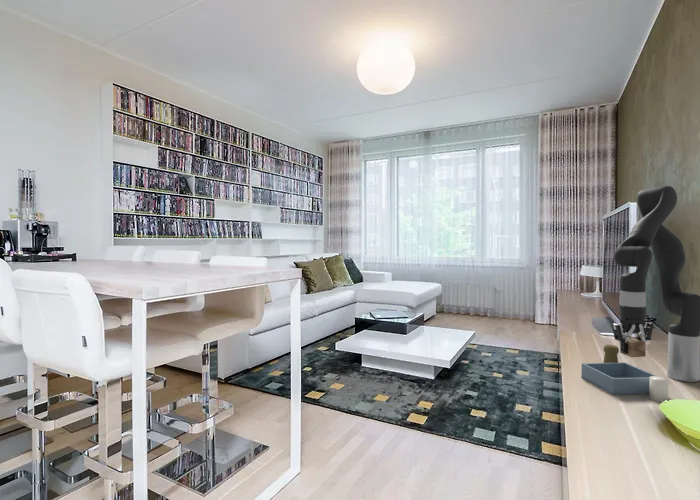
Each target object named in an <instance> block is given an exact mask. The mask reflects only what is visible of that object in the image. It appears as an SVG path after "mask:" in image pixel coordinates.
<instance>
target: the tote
mask: <svg viewBox="0 0 700 500" xmlns="http://www.w3.org/2000/svg"><path fill="white" fill-rule="evenodd" d="M650 376H657V375H656V374H653V373H651V372H648V371H646V370H643V369H642V368H639V367H637V366H634V365H632V364H630V363H627V362H618V363H603V362H591V363H590V362H589V363H588V362H587V363H586V362H585V363H581V378H582V379H583V380H585V381H587V382H589V383H590V384H592V385H593V386H596V387H598V388H599V389H601V390H603V391H605V392H606V393H608V394H610V395H612V396H625V395H626V396H628V395H631V396H632V395H649V380H650Z"/></svg>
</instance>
